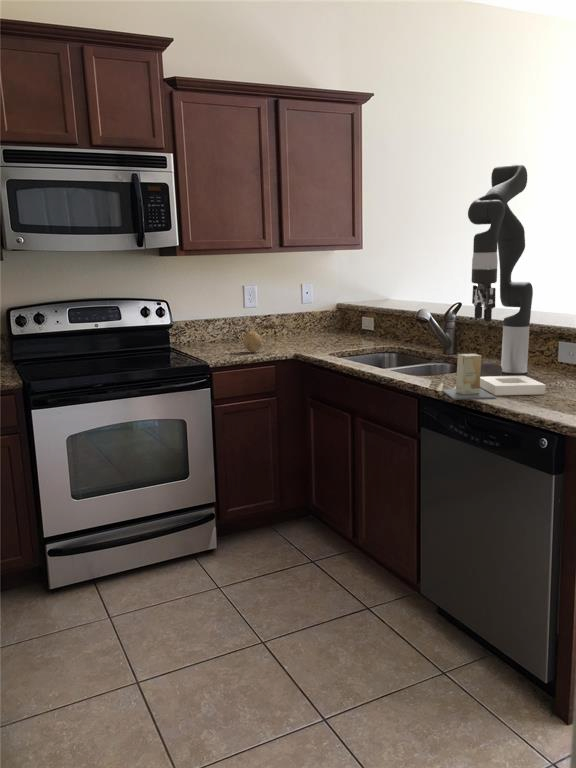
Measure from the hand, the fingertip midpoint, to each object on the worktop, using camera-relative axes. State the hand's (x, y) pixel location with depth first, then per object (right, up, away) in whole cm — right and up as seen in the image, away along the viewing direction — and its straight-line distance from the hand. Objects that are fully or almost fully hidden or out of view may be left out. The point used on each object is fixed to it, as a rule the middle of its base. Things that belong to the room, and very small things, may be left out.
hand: (482, 319), depth 204 cm
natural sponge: (-78, -6, +98) cm, 125 cm away
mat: (-4, -23, +1) cm, 24 cm away
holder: (+11, -22, +8) cm, 26 cm away
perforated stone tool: (+8, -19, +24) cm, 31 cm away
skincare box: (-4, -23, +1) cm, 24 cm away
